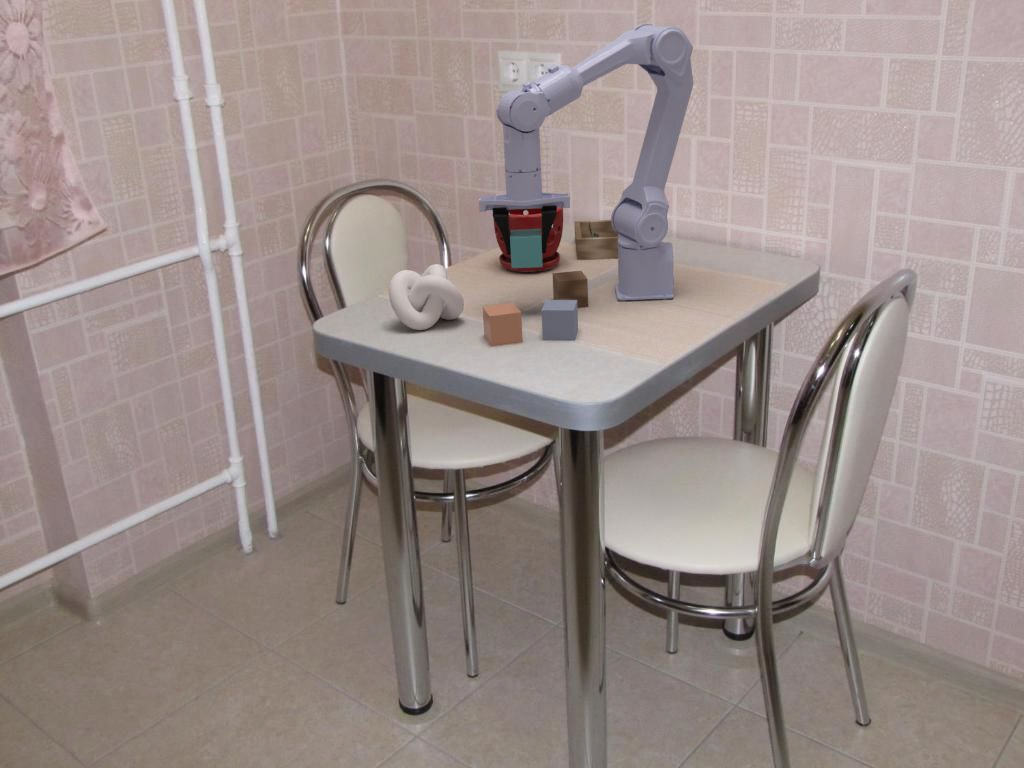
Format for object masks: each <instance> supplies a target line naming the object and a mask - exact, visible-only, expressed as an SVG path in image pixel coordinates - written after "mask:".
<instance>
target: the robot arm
mask: <svg viewBox="0 0 1024 768" xmlns="http://www.w3.org/2000/svg"><path fill="white" fill-rule="evenodd" d="M693 50H694V46H693V44H692V42H691V41H690V39H689V38H688V36H687V35H686V33H685V32H684V31H683V30H682V29H681V28H679V27H677V26H661V25H653V24H649V23H642V24H639V25H638V26H636V27H634V29H628V30H626V31H625V32H623V33H622V34H621V35H620V36H618V37H617V38H615V39H614V40H612V41H611V42H609V43H608V44H607V45H605V46H603V47H602V48H600V49H599V50H597V51H596V52H594V53H593V54H591V55H589V56H588V57H586V58H585V59H584V60H582V61H580V62H579V63H577V64H576V65H574V66H573V67H572V66H571V67H570V66H568V65H566V64H561V65H559V66H558V65H556V64H553V65H551V66H549V67H547V70H548V71H547V73H545V74H543V75H542V76H540V77H538V78H536V79H535V80H533V81H531V82H530V81H526V82H523V84H522V89H521V90H519V89H513V90H510V91H509V90H508V92H506V93H505V94H504V95H503V96H502V97H501V100H499V102H498V106H497V109H495V114H496V118H497V119H498V121H499V122H500V123H501V125H502V131H503V155H504V175H505V191H506V192H505V194H501V195H493V196H482V197H479V199H478V209H479V212H481V213H482V212H483V213H484V212H487V211H492V218H494V219H493V222H494V221H495V222H496V224H497V226H498V228H499V230H500V232H501V234H502V237H503V239H504V242H505V246H506V250H507V255H511V247H510V228H509V214H510V213H509V210H510V209H533V208H541V211H542V253H546V247H547V241H548V237H549V233H550V230H551V227H552V228H553V222H554V220H555V218H556V215H557V207H563V209H570V208H571V195H570V193H555V192H553V193H551V192H550V193H549V192H543V189H542V188H543V185H542V162H541V161H542V159H541V138H540V135H541V134H540V127H541V126H543V124H544V122H545V119H546V118H547V117H549V116H551V115H552V114H554V113H555V112H557V111H559V110H560V109H563V108H565V107H566V106H568V105H569V104H571V103H573V102H575V101H576V100H578V99H580V97H581V95H582V93H583V89H584V87H585V86H587V85H589V84H591V83H592V82H594V81H596V80H598V79H600V78H602V77H604V76H605V75H607V74H609V73H612V72H614V71H616V70H618V69H619V68H621V67H623V66H625V65H638V66H639V67H640V68H641V69H643V70H644V71H645V72H646V73H647V74H648V75H649V77H650V78H651V80H652V82H653V83H654V85H655V87H656V94H655V98H654V101H653V106H652V108H651V113H650V116H649V120H648V123H647V127H646V131H645V133H644V134H645V135H644V138H643V143H642V146H641V149H640V153H639V157H638V161H637V165H636V169H635V172H634V176H633V180H632V182H631V183H630V184H629V185H628V186H627V187H626V188H625V189H624V190H622V193H621V198H620V200H619V202H618V203H617V204H616V206H615V207H614V208H613V209H612V213H611V217H610V220H611V224H612V227H613V229H614V230H615V231H616V232H617V233H618V258H617V266H618V267H617V273H618V274H617V276H618V280H617V281H618V283H616V284H614V289H615V294H616V299H617V300H618V301H638V300H642V301H643V300H664V299H665V300H668V299H669V300H670V299H674V298H675V297H674V284H675V275H674V264H675V263H674V249H673V243H672V242H670V241H669V242H667V241H663V240H664V239H665V238H666V236H667V234H668V230H669V221H668V213H669V208H670V204H669V201H668V199H667V196H666V194H665V189H666V185H667V182H668V177H669V174H670V170H671V168H672V163H673V159H674V157H675V153H676V148H677V145H678V141H679V138H680V134H681V132H682V131H681V130H682V127H683V123H684V121H685V116H686V113H687V110H688V106H689V102H690V99H691V96H692V95H691V94H692V91H693V86H694V77H693V69H692V61H691V60H692V54H693Z"/></svg>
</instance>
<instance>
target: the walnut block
mask: <svg viewBox="0 0 1024 768" xmlns="http://www.w3.org/2000/svg"><path fill="white" fill-rule="evenodd" d="M588 281H589V280H588V278H587V276H586V275H585V273H584V272H583V270H574V271H564V272H563V271H562V272H561V271H560V272H553V273H552V294H553V295H552V296H553V299H552V300H577V307H578V309H579V308H589V284H588V283H589V282H588Z"/></svg>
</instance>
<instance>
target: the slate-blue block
mask: <svg viewBox="0 0 1024 768" xmlns="http://www.w3.org/2000/svg"><path fill="white" fill-rule="evenodd" d="M578 310H579V308H578V307H577V300H553V299H545V301H544V303H543V306H542V309H541V310H540V311H541V327H542V328H541V331H542V333H541V334H542V341H576V338H577V334H578V331H579V319H578V318H579V317H578V315H579V313H578V312H579V311H578Z"/></svg>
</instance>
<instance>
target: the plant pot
mask: <svg viewBox="0 0 1024 768" xmlns="http://www.w3.org/2000/svg"><path fill="white" fill-rule="evenodd" d="M524 211H527V214H524ZM492 218H493V217H492ZM493 226H494V234H495V238H496V242H497V245H498V248H499V249H500V251H501V254H500V255H499V258H498V261H499V262H500V264H501V265H502V267H504V268H505V269H508V270H511V271H514V272H517V273H519V272H520V273H537V272H543V271H546V270H549V269H551V268H553V267H555V266H556V265H557V264H558V263H559V261H560V259H561V254H560V252H559V251H558V249H559V247H560V245H561V241H562V237H563V231H564V230H563V229H564V208H563V207H557V215H556V218H555V220H554V222H553V225H552V227H551V230H550V233H549V237H548V241H547V247H546V253H542V267H531V268H512V267H511V255H507V250H506V246H505V242H504V239H503V237H502V234H501V232H500V230H499V228H498V226H497V224H496V222H495V221H494V218H493ZM509 228H510V233H511V230H523V229H541V235H542V211H541V208H533V209H510V210H509Z"/></svg>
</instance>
